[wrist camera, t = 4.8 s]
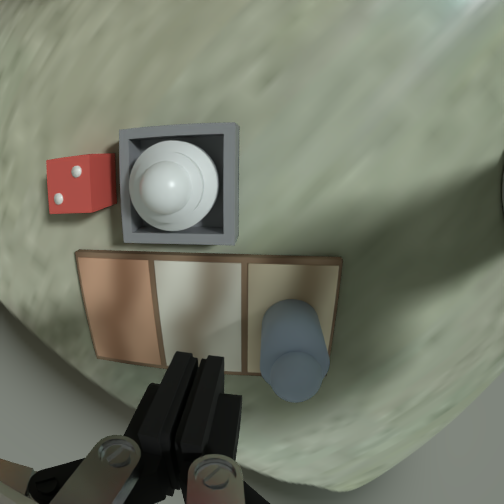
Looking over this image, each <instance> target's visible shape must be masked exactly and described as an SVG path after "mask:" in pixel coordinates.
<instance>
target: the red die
mask: <svg viewBox="0 0 504 504" xmlns="http://www.w3.org/2000/svg"><path fill="white" fill-rule="evenodd" d="M46 162H47V186H48V200H49V212H50V214H63V213H92V212H95V211H98V210H100V209H103V208H106V207H108V206H111V205H114V204H117V195H116V169H115V153H109V154H87V155H79V156H72V157H64V158H58V159H51V160H46Z"/></svg>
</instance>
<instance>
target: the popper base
mask: <svg viewBox="0 0 504 504" xmlns="http://www.w3.org/2000/svg"><path fill="white" fill-rule="evenodd" d="M170 140H172V141H182V142H188V143H191V144H194V145H196V146H198V147H200V148H201V149H203V150H204V151H205V152H206V153H207V154H208V155H209V156H210V157H211V158H212V160H213V161H214V163H215V165H216V167H217V170H218V174H219V181H220V186H219V193H218V197H217V200H216V202H215V204H214V206H213V207H212V209H211V210H210V211H209V212H208V214H207V215H206V216H204V217H203V218H202V219H201V220H200V221H199V222H198V223H196V224H195V225H193V226H191V227H189V228H187V229H184V230H179V231H166V230H161V229H158V228H156V227H154V226H152V225H150V224H149V223H147V222H146V221H145V220H144V219H142V218H141V216H140V215H139V214H138V213H137V211H136V210H135V208H134V206H133V204H132V201H131V197H130V193H129V179H130V174H131V170H132V168H133V166H134V164H135V162H136V160H137V159H138V158H139V156H140V155H141V154H142V153H143V152H144V151H145V150H146V149H148V148H149V147H151V146H152V145H154V144H157V143H159V142H163V141H170ZM119 167H120V195H121V212H122V226H123V238H124V243H158V244H201V245H235V243H236V241H237V238H238V219H239V126H238V125H237V124H236V123H197V124H178V125H164V126H151V127H140V128H131V129H122V130H119Z"/></svg>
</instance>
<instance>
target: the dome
mask: <svg viewBox="0 0 504 504" xmlns="http://www.w3.org/2000/svg"><path fill="white" fill-rule="evenodd" d="M219 186H220V181H219V174H218V170H217V167H216V165H215V163H214V161H213V160H212V158H211V157H210V156H209V155H208V154H207V153H206V152H205V151H204V150H203V149H201V148H200V147H198V146H196V145H194V144H191V143H188V142H182V141H172V140H170V141H163V142H159V143H157V144H154V145H152V146H151V147H149V148H148V149H146V150H145V151H144V152H143V153H142V154H141V155H140V156H139V158H138V159H137V160H136V162H135V164H134V166H133V168H132V170H131V174H130V179H129V193H130V197H131V201H132V204H133V206H134V208H135V210H136V211H137V213H138V214H139V215H140V216H141V218H142V219H144V220H145V221H146V222H147V223H149V224H150V225H152V226H154V227H156V228H158V229H161V230H166V231H179V230H184V229H187V228H189V227H191V226H193V225H195V224H196V223H198V222H199V221H200V220H201V219H202V218H203V217H204V216H206V215H207V214H208V212H209V211H210V210H211V209H212V207H213V206H214V204H215V202H216V200H217V197H218V193H219Z"/></svg>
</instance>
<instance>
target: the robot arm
mask: <svg viewBox="0 0 504 504" xmlns="http://www.w3.org/2000/svg"><path fill="white" fill-rule="evenodd" d="M502 201H503V210H504V173H503V182H502ZM241 409H242V395H232V394H224V357H221V356H212V355H208V357H207V359H203V358H202V359H201V362H200V365H199V367H198V358H195V357H193V354H192V353H188V352H180V351H176V352H175V354H174V356H173V358H172V361H171V363H170V365H169V367H168V369H167V371H166V373H165V375H164V378H163V380H162V382H161V384H155V383H151V384H149V386H148V388H147V390H146V392H145V394H144V396H143V398H142V400H141V402H140V404H139V405H138V407H137V409H136V411H135V414H134V415H133V418H132V420H131V422H130V424H129V426H128V428H127V430H126V432H125V434H124V436H122V435H112V436H107V437H105V438H103V439H101V440H100V441H99V442H98V443H97V444H96V445H95V446H94V447H93V449H92V450H91V451H90V453H89V454H88V455H87V456H86V458H83V459H80V460H76V461H73V462H69V463H66V464H62V465H59V466H55V467H51V468H47V469H44V470H40V471H38V472H37V471H34V469H33V468H30V467H27V466H23V465H19V464H16V463H12V462H10V461H6V460H3V459H0V504H158V502H160V501H162V500H164V499H165V498H166V495H168V496H173V494H174V490H175V489H177V490H180V488H181V490H182V494H183V498H184V502H185V504H270V503H269V502H268V501H266V500H265V499H264V498H263V497H262V496H260V495H259V494H258V493H257V492H256V491H255V490H254V489H252V488H251V487H250V486H249V485H248V484H247V483H246V482H245V481H243V475H242V471H241V467H240V466H239V465H238V463H237V462H236V461H235V460H236V453H237V445H238V438H239V430H240V421H241Z"/></svg>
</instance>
